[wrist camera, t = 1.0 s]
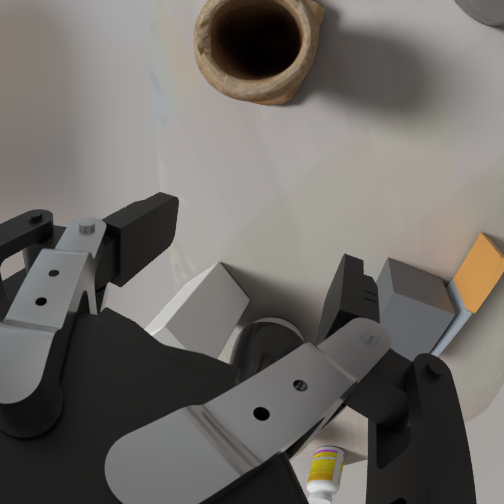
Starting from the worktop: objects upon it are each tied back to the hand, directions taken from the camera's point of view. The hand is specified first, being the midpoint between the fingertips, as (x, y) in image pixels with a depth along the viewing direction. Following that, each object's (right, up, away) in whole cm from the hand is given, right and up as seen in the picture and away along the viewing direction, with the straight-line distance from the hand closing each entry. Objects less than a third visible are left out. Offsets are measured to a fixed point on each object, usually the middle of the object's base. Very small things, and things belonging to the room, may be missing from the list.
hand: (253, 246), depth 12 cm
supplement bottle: (+17, -43, +45) cm, 65 cm away
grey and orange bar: (+25, -6, +24) cm, 35 cm away
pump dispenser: (+4, -12, +35) cm, 37 cm away
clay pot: (+3, +23, +18) cm, 29 cm away
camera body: (+19, -8, +27) cm, 34 cm away
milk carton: (-5, -6, +34) cm, 35 cm away
